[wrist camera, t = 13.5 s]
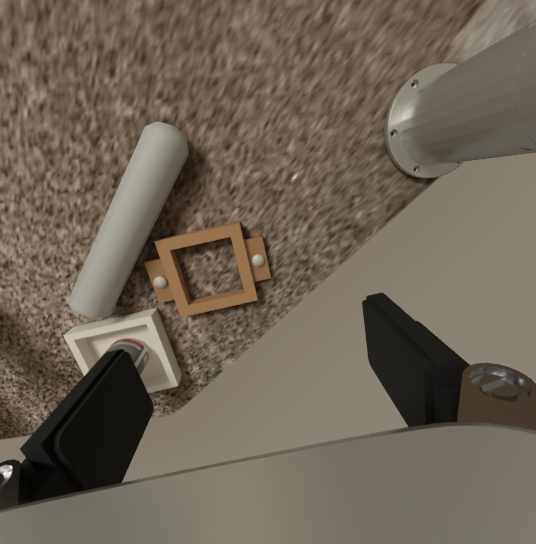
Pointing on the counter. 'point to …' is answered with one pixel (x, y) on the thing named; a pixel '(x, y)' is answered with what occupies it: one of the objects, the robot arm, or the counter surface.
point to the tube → (130, 219)
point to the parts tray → (141, 325)
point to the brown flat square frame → (172, 283)
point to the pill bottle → (133, 351)
